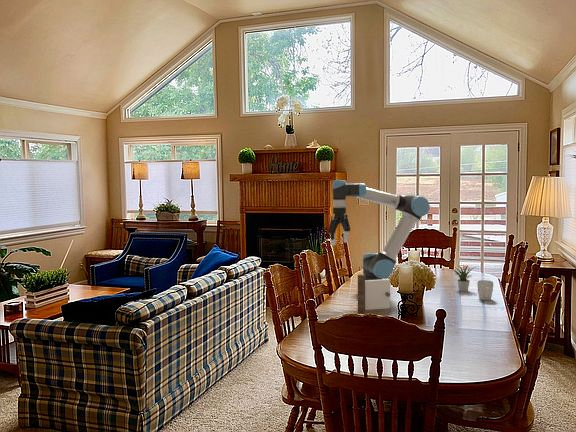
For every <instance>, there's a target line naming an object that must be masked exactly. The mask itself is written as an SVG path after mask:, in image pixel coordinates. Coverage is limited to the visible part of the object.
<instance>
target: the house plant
mask: <svg viewBox="0 0 576 432" xmlns="http://www.w3.org/2000/svg"><path fill="white" fill-rule="evenodd" d="M462 266H463V268H462V267H461V265H457V267H458V268H459V269H458V268H457V267H456V266H454V268H455V269H453V271H454V272H455V273H454V274H455V275H456V276H457V277H458V278H459V279H457V285H458V286H457V287H458V291H459V292H468V291H469V288H470V287H469V286H470V280H469V278H473V277H474V275H473V274H469V273H471V271H472V270H473V269H476V266H474V267H470V266H469V265H466V266H465V265H464V264H463V265H462Z"/></svg>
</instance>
